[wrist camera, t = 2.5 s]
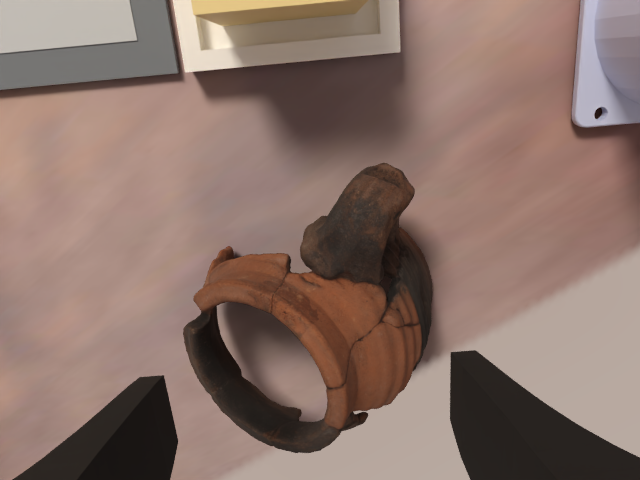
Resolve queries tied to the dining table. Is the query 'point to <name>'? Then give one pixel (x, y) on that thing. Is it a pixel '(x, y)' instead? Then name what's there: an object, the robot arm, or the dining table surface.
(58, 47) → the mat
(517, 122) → the dining table surface
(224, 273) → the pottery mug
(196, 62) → the dish white
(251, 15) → the letter cube
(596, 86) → the robot arm
